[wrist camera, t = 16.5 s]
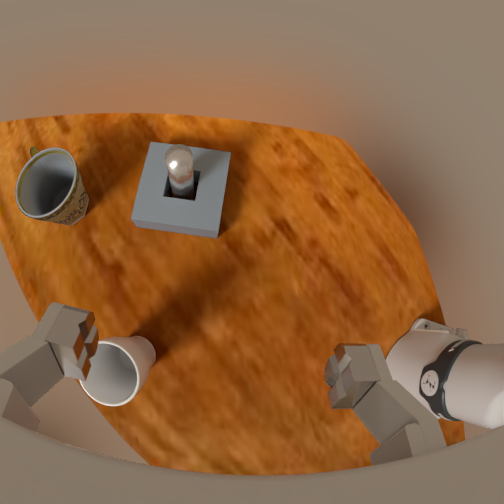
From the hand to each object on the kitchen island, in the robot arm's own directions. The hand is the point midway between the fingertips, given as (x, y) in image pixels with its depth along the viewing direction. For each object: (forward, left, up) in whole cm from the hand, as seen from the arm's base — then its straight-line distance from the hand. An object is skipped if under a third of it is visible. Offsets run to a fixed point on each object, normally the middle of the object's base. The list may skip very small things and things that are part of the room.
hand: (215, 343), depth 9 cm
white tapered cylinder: (+9, +7, -34) cm, 35 cm away
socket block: (+6, -17, -33) cm, 38 cm away
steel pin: (+6, -17, -33) cm, 38 cm away
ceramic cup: (+25, -14, -34) cm, 44 cm away
